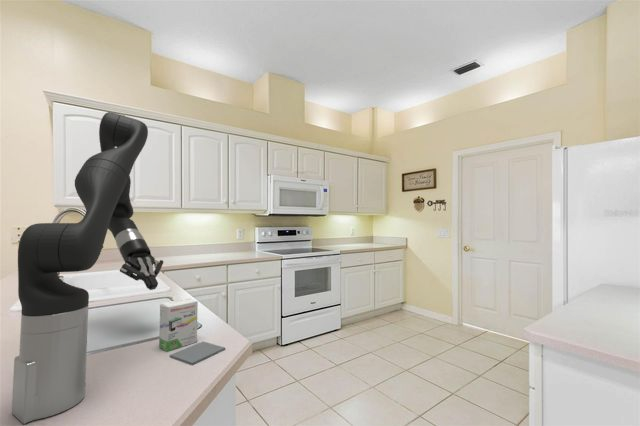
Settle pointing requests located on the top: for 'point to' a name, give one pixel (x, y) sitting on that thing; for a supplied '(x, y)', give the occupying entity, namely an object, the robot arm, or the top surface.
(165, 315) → the ink box
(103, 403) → the top surface
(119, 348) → the top surface
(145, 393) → the top surface
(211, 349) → the mat
